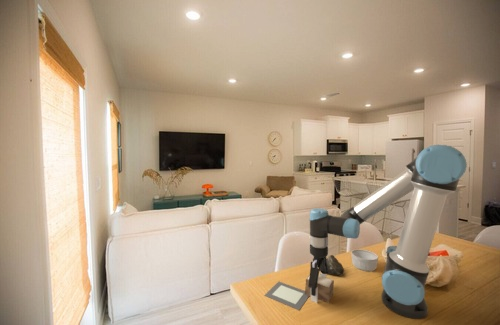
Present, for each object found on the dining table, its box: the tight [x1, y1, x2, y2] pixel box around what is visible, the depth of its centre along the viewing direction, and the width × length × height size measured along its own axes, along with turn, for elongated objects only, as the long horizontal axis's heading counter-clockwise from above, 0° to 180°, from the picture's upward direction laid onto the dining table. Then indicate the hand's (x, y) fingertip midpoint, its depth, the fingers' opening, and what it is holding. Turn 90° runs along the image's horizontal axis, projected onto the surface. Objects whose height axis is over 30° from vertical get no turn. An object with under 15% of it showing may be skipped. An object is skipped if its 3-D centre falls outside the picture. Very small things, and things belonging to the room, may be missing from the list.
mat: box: [263, 281, 310, 311], centre depth 96 cm, size 16×13×1 cm
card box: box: [304, 274, 335, 304], centre depth 95 cm, size 10×7×7 cm
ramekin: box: [350, 248, 379, 272], centre depth 120 cm, size 13×13×7 cm
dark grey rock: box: [326, 254, 345, 277], centre depth 114 cm, size 11×9×10 cm
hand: (318, 294), depth 96 cm, fingers open, 11 cm apart
